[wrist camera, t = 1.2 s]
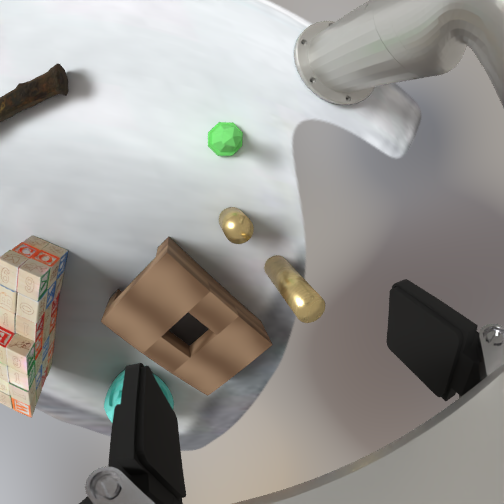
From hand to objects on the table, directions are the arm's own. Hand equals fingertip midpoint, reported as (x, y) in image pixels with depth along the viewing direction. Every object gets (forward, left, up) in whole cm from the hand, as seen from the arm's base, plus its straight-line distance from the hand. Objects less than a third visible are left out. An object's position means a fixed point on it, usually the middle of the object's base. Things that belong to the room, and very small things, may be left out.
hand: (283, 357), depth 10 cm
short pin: (-1, +3, -28) cm, 28 cm away
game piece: (-7, -5, -28) cm, 30 cm away
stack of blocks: (+28, -8, -29) cm, 40 cm away
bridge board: (+12, +8, -28) cm, 32 cm away
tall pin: (-1, +12, -28) cm, 31 cm away
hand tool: (+10, -29, -29) cm, 42 cm away
